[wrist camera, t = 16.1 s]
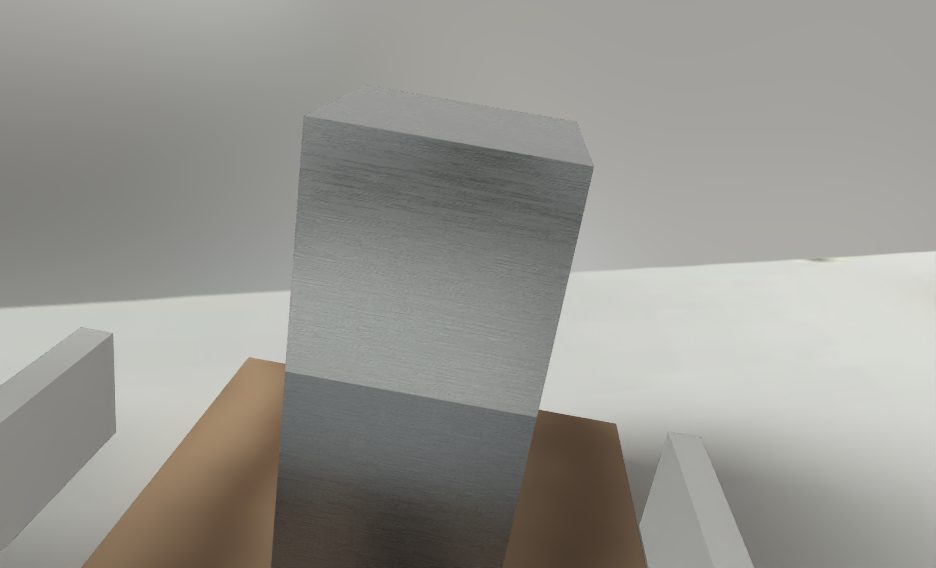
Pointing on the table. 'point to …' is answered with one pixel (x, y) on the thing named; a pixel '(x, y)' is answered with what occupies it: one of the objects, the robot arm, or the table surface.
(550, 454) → the block
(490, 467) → the block
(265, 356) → the table surface
